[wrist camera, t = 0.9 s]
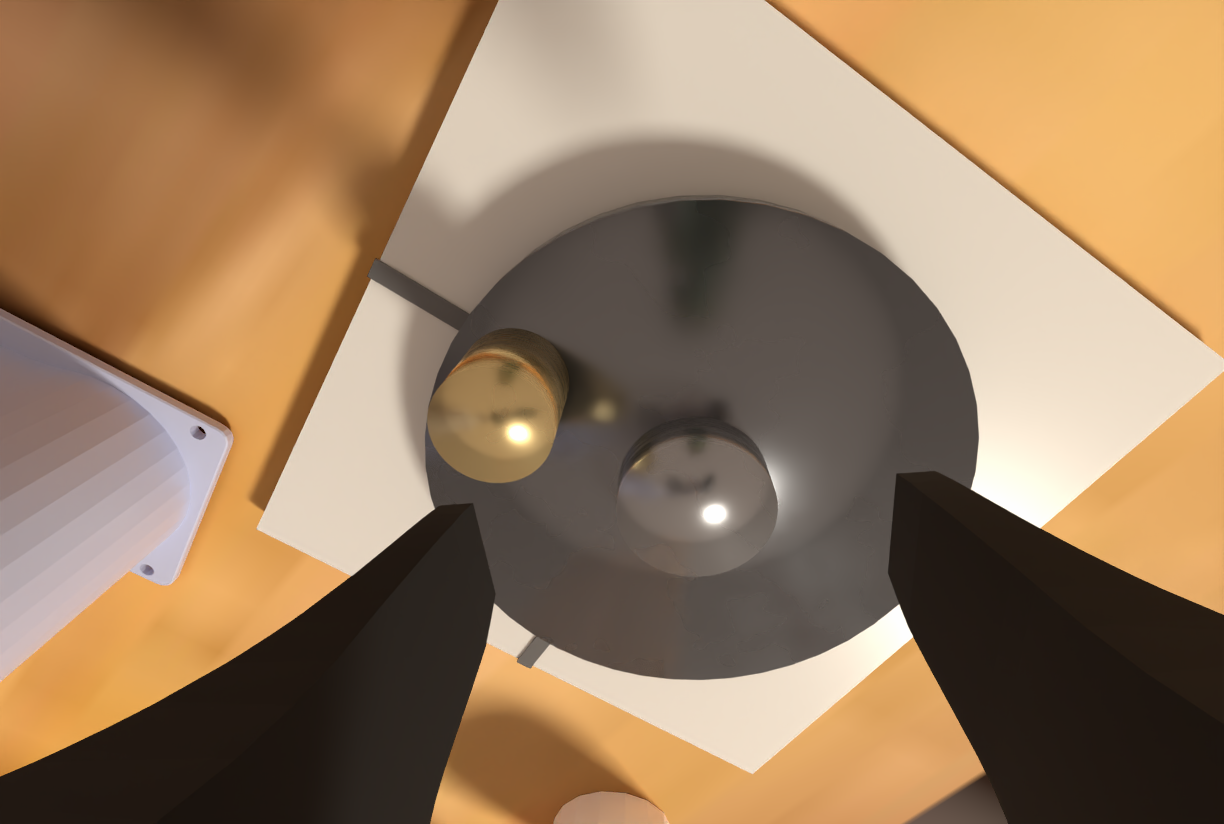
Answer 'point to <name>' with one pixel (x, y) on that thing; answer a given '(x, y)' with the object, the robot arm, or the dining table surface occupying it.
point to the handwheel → (697, 434)
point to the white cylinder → (609, 810)
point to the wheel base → (740, 167)
